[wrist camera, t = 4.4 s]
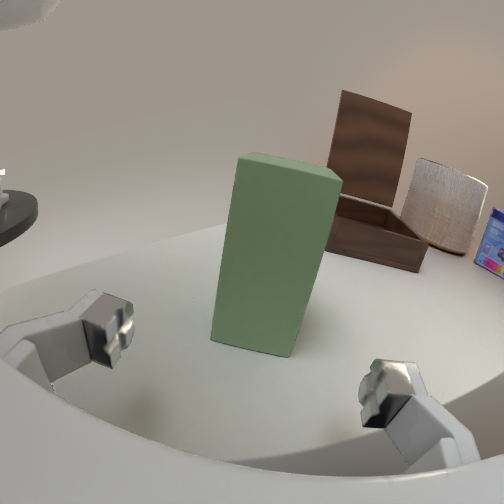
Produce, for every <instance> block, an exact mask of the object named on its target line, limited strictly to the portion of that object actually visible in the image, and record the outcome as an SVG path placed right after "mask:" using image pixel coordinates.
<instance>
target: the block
mask: <svg viewBox="0 0 504 504" xmlns="http://www.w3.org/2000/svg"><path fill="white" fill-rule="evenodd" d="M342 184H343V180H341V179H340V178H339V177H338V176H337V175H336V174H335V173H334V172H333V171H332V170H331V169H329V168H325V167H321V166H317V165H313V164H309V163H305V162H300V161H296V160H291V159H287V158H283V157H278V156H273V155H268V154H263V153H258V152H252V153H249V154H247V155H244V156H242V157H239V158H238V163H237V169H236V174H235V181H234V186H233V192H232V198H231V204H230V210H229V216H228V222H227V228H226V235H225V241H224V247H223V254H222V260H221V267H220V274H219V281H218V288H217V294H216V302H215V309H214V316H213V323H212V331H211V338H210V339H211V340H213V341H217V342H221V343H225V344H229V345H233V346H237V347H241V348H246V349H250V350H255V351H259V352H264V353H268V354H273V355H278V356H283V357H289V355H290V352H291V349H292V347H293V344H294V341H295V338H296V336H297V333H298V330H299V327H300V324H301V321H302V318H303V315H304V313H305V310H306V307H307V304H308V301H309V298H310V295H311V292H312V288H313V285H314V282H315V279H316V276H317V273H318V270H319V266H320V263H321V260H322V256H323V253H324V250H325V246H326V243H327V240H328V236H329V233H330V229H331V226H332V222H333V218H334V215H335V211H336V207H337V204H338V200H339V196H340V192H341V188H342Z"/></svg>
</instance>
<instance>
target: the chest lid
mask: <svg viewBox="0 0 504 504" xmlns="http://www.w3.org/2000/svg"><path fill="white" fill-rule="evenodd" d="M411 115H412V113H410V112H408V111H405V110H402V109H399V108H397V107H394V106H391V105H389V104H386V103H383V102H380V101H377V100H374V99H371V98H368V97H365V96H362V95H359V94H355V93H352V92H348V91H345V90H342V92H341V97H340V103H339V108H338V114H337V119H336V124H335V129H334V134H333V139H332V144H331V148H330V153H329V158H328V163H327V167H326V168H329V169H331V170H332V171H333V172H334V173H335V174H336V175H337V176H338V177H339V178H340V179H341V180H343V184H342V188H341V192H340V193H343V194H347V195H350V196H354V197H358V198H361V199H365V200H368V201H372V202H375V203H379V204H382V205H385V206H389V207H392V205H393V201H394V198H395V194H396V190H397V186H398V181H399V178H400V173H401V168H402V164H403V159H404V154H405V149H406V144H407V139H408V133H409V127H410V121H411Z"/></svg>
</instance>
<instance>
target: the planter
mask: <svg viewBox="0 0 504 504" xmlns="http://www.w3.org/2000/svg"><path fill="white" fill-rule="evenodd" d="M487 189H488V186H486V185H485V184H484V183H482V182H480V181H478V180H476V179H474V178H472V177H470V176H468V175H466V174H464V173H461V172H459V171H456V170H454V169H452V168H449V167H447V166H444V165H441V164H439V163H436V162H433V161H430V160H426V159H423V158H417V161H416V165H415V169H414V173H413V177H412V180H411V184H410V187H409V190H408V194H407V197H406V200H405V203H404V206H403V210H402V213H401V216H400V218H401V219H402V220H403V221H404V222H405V223H407V224H408V225H409V226H410V227H411V228H412V229H413V230H414V231H415V232H416V233H418V234H419V235H420V236H421V237H422V238H423V239H424V240H425V241H426V242H427V243H428V244H429V245H431V246H434V247H436V248H438V249H441V250H444V251H447V252H450V253H454V254H463V253H466V252H467V251H468V249H469V247H470V244H471V241H472V239H473V236H474V232H475V230H476V227H477V223H478V220H479V217H480V214H481V210H482V207H483V204H484V200H485V196H486V193H487Z"/></svg>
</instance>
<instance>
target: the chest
mask: <svg viewBox="0 0 504 504" xmlns="http://www.w3.org/2000/svg"><path fill="white" fill-rule="evenodd" d="M428 245H429V244H428V243H427V242H426V241H425V240H424V239H423V238H422V237H421V236H420V235H419V234H418V233H416V232H415V231H414V230H413V229H412V228H411V227H410V226H409V225H408V224H407V223H405V222H404V221H403V220H402V219H401V218H400V217H399V216H397V215H396V214H395V213H394V212H393V211H392V210H390V209H387V208H384V207H380V206H377V205H373V204H370V203H366V202H363V201H359V200H356V199H352V198H348V197H345V196H341V195H340V196H339V200H338V204H337V207H336V211H335V215H334V218H333V222H332V226H331V229H330V233H329V236H328V240H327V243H326V246H325V251H329V252H333V253H337V254H341V255H345V256H350V257H354V258H358V259H362V260H366V261H370V262H375V263H379V264H383V265H387V266H391V267H395V268H399V269H403V270H407V271H411V272H415V273H418V271H419V269H420V266H421V264H422V261H423V259H424V256H425V253H426V251H427V248H428Z"/></svg>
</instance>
